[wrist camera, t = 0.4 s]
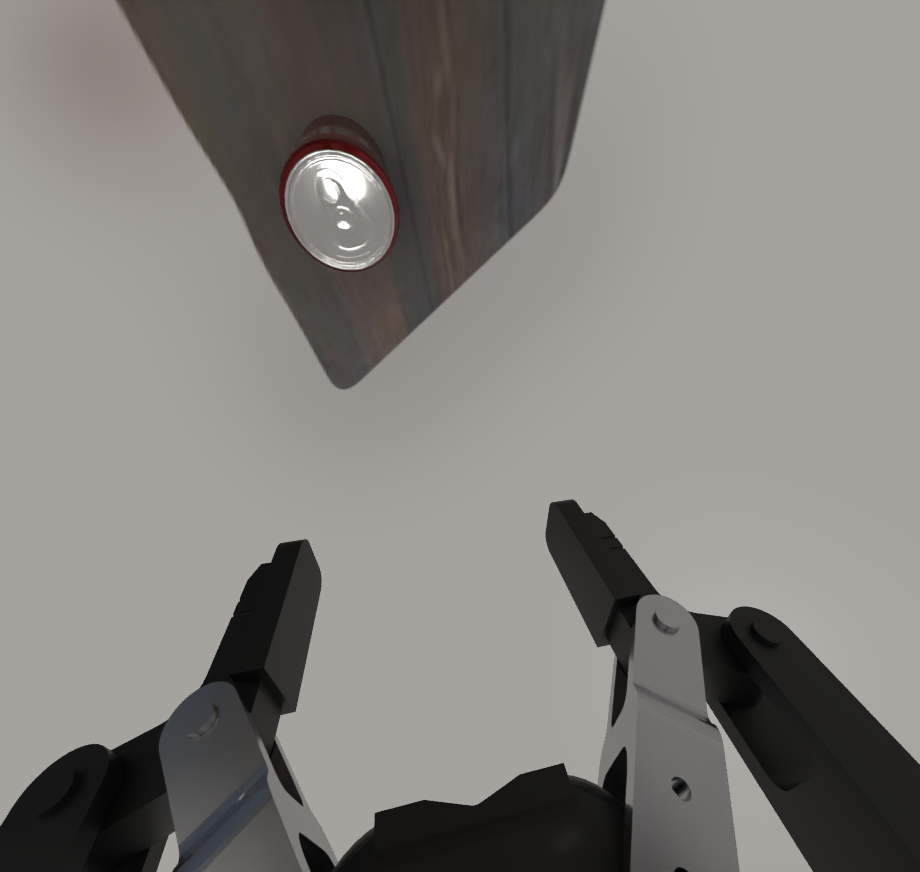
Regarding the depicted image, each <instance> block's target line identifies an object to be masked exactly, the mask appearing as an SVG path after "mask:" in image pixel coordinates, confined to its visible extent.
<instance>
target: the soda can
mask: <svg viewBox="0 0 920 872" xmlns="http://www.w3.org/2000/svg"><path fill="white" fill-rule="evenodd" d="M279 198H280V206H281V210H282V214H283V217H284V220H285V222H286V224H287V227H288V229H289V231H290V232H291V234H292V235H293V237H294V239H295V240H296V242H297V243H298V244H299V245H300V246H301V247H302V248H303V250H304V251H305V252H307V253H308V254H309V255H310V256H311V257H312V258H314V259H315V260H317V261H318V262H320V263H321V264H323V265H325V266H327V267H330V268H332V269H335V270H339V271H344V272H358V271H364V270H367V269H369V268H372V267H374V266H375V265H377V264H378V263H380V262H381V261H382V260H383V259H384V258H385V257H386V256H387V255H388V254H389V252H390V251H391V249H392V247H393V246H394V243H395V241H396V238H397V235H398V229H399V209H398V204H397V198H396V195H395V192H394V189H393V186H392V183H391V180H390V177H389V174H388V171H387V168H386V165H385V162H384V159H383V156H382V154H381V152H380V150H379V148H378V146H377V144H376V142H375V141H374V140H373V138H372V137H371V136H370V135H369V133H368V132H366V131H365V130H364V129H363V128H362V127H361V126H360V125H358V124H357V123H355V122H354V121H352V120H350V119H347V118H345V117H342V116H334V115H330V116H323V117H320V118H318V119H316V120H314V121H313V122H312V123H310V124H309V125H308V126H307V127H306V129H305V130H304V132H303V133H302V135H301V137H300V138H299V140H298V142H297V144H296V145H295V147H294V149H293V151H292V153H291V154H290V156H289V158H288V160H287V161H286V163H285V166H284V168H283V171H282V174H281V177H280V185H279Z"/></svg>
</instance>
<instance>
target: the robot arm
mask: <svg viewBox="0 0 920 872" xmlns="http://www.w3.org/2000/svg"><path fill="white" fill-rule="evenodd" d="M546 542H547V546H548V549H549V552H550V553H551V555H552V557H553V560H554V561H555V563H556V565H557V568H558V569H559V572H560V573H561V575H562V577H563V579H564V581H565V583H566V585H567V587H568V589H569V591H570V593H571V595H572V597H573V599H574V601H575V603H576V605H577V607H578V609H579V611H580V613H581V615H582V617H583V619H584V621H585V623H586V625H587V627H588V629H589V631H590V633H591V635H592V637H593V639H594V641H595V643H596V645H597V647H601V646H606V645H611V647H612V649H613V651H614V653H615V659H614V666H613V676H612V686H611V696H610V705H609V715H608V725H607V732H606V737H605V741H604V745H603V750H602V755H601V761H600V768H599V777H598V785H596V784H594V783H591V782H589V781H587V780H585V779H582V778H579V777H575V776H570V775H567V772H566V769H565V766H564V763H562V764H558V765H554V766H551V767H547V768H543V769H539V770H535V771H531V772H528V773H524V774H520V775H519V776H517V777H516V778H514V779H513V780H512V781H510V782H509V783H508V784H506V785H505V786H504V787H502V788H501V789H499V790H498V791H496V792H495V793H494V794H492V795H491V796H490V797H488V798H487V799H485V800H484V801H482V802H481V803H479V804H478V805H474V806H469V805H461V804H453V803H445V802H436V801H428V800H422V801H418V802H415V803H411V804H407V805H403V806H399V807H396V808H392V809H388V810H384V811H381V812H377V813H375V825H374V828H372V829H371V830H369V831H368V832H367V833H365V834H364V835H363V836H362V837H361V838H360V839H359V840H358V841H357V842H355V843H354V844H353V846H352V847H351V848H350V849H349V850H348V851H347V852H346V853H345V855H344V856H343V857H342V858H341V860H340V861H339V862H338V861H337V859H336V857H335V855H334V853H333V851H332V848H331V846H330V844H329V842H328V840H327V838H326V836H325V834H324V832H323V830H322V828H321V826H320V825H319V823H318V821H317V820H316V818H315V817H314V815H313V813H312V812H311V810H310V808H309V806H308V804H307V802H306V800H305V798H304V796H303V793H302V791H301V789H300V787H299V784H298V782H297V780H296V778H295V776H294V773H293V771H292V769H291V767H290V765H289V762H288V760H287V758H286V756H285V753H284V751H283V749H282V747H281V745H280V742H279V740H278V738H277V736H276V731H277V726H278V723H279V718H280V715H283V714H287V713H292V712H295V711H296V707H297V702H298V697H299V692H300V687H301V682H302V678H303V673H304V668H305V663H306V659H307V654H308V649H309V644H310V639H311V635H312V630H313V625H314V620H315V615H316V611H317V606H318V600H319V596H320V591H321V572H320V568H319V566H318V563H317V561H316V559H315V556H314V553H313V551H312V549H311V546H310V544H309V542H308V540H306V539H305V540H298V541H292V542H285V543H280V544H279V545H278V546H277V548H276V551H275V554H274V556H273V559H272V562H271V563H265V564H261V565H260V566H259V567H258V569H257V570H256V571H255V572H254V573H253V575H252V576H251V577H250V578H249V579H248V581H247V583H246V585H245V588H244V590H243V592H242V594H241V597H240V602H238V604H237V606H236V609H235V611H234V613H233V615H234V616H233V617H232V618H231V620H230V622H229V625H228V627H227V630H226V632H225V634H224V636H223V639H222V641H221V644H220V646H219V648H218V650H217V653H216V655H215V657H214V660H213V662H212V664H211V667H210V669H209V671H208V674H207V676H206V678H205V680H204V682H203V684H202V685H201V687H200V688H199V689H198V690H196V691H195V692H193V693H192V694H191V695H189V696H188V697H187V698H186V699H185V700H184V701H183V702H182V703H181V704H180V705H179V706H178V707H177V708H176V709H175V711H174V712H173V713H172V715H171V716H170V718H169V719H168V720H167V721H165V722H164V723H162V724H160V725H159V726H157V727H155V728H153V729H151V730H149V731H147V732H145V733H143V734H141V735H140V736H138V737H136V738H134V739H132V740H130V741H128V742H126V743H124V744H122V745H120V746H118V747H117V748H115V749H113V750H109V749H107V748H106V747H104V746H102V745H99V744H90V745H85V746H82V747H80V748H77V749H75V750H73V751H71V752H69V753H68V754H66V755H64V756H63V757H61V758H60V759H58V760H57V761H56V762H54V763H53V764H51V765H50V766H49V767H48V768H47V769H46V770H44V771H43V772H42V773H41V774H40V775H39V776H38V777H37V778H36V779H35V780H34V781H33V782H32V783H31V784H30V785H29V786H28V787H27V788H26V790H25V791H24V792H23V793H22V795H21V796H20V797H19V799H18V800H17V802H16V803H15V804H14V806H13V807H12V809H11V811H10V812H9V814H8V815H7V817H6V819H5V820H4V822H3V823H2V825H1V826H0V872H156V871H157V868H158V865H159V862H160V859H161V856H162V853H163V850H164V847H165V844H166V841H167V838H168V836H169V834H171V833H173V832H174V831H175V832H176V837H177V842H178V848H179V862H178V864H177V866H176V867H175V868H174V870H173V872H739V864H738V856H737V848H736V840H735V832H734V825H733V817H732V809H731V801H730V793H729V785H728V777H727V769H726V762H725V754H724V747H723V742H722V738H721V734H720V732H719V730H718V728H717V726H716V725H714V724H712V723H711V722H710V720H709V718H708V714H707V707H706V702H707V703H708V704H709V706H710V708H711V710H712V711H713V712H714V714H715V716H716V717H717V719H718V721H719V722H720V724H721V725H722V727H723V729H724V730H725V732H726V733H727V735H728V737H729V738H730V740H731V741H732V743H733V744H734V746H735V748H736V749H737V751H738V753H739V754H740V756H741V757H742V759H743V761H744V762H745V764H746V765H747V767H748V769H749V770H750V772H751V773H752V775H753V776H754V778H755V780H756V781H757V783H758V784H759V786H760V788H761V789H762V791H763V792H764V794H765V796H766V797H767V799H768V800H769V802H770V804H771V805H772V807H773V808H774V810H775V812H776V813H777V815H778V816H779V818H780V820H781V821H782V823H783V824H784V826H785V828H786V829H787V831H788V832H789V834H790V835H791V837H792V838H793V840H794V842H795V843H796V845H797V847H798V848H799V850H800V851H801V853H802V855H803V856H804V858H805V859H806V861H807V862H808V864H809V866H810V867H811V869H812V870H813V872H920V764H919V763H917V761H916V760H915V759H914V758H913V757H912V756H911V755H910V754H909V753H908V752H907V751H906V750H905V749H904V748H903V747H902V746H901V745H900V744H899V743H898V741H897V740H896V739H895V738H894V737H893V736H892V735H891V734H890V733H889V732H888V731H887V730H886V729H885V728H884V727H883V726H882V725H881V724H880V723H879V722H878V721H877V720H876V718H875V717H873V716H872V715H871V713H869V711H868V710H867V709H866V708H865V707H864V706H863V705H862V704H861V703H860V702H859V701H858V700H857V699H856V698H855V697H854V696H853V695H852V694H851V692H850V691H849V690H848V689H847V688H846V687H845V686H844V685H843V684H842V683H841V682H840V681H839V680H838V679H837V678H836V677H835V676H834V675H833V674H832V673H831V672H830V670H828V668H827V667H825V665H824V664H823V663H822V662H821V661H820V660H819V659H818V658H817V657H816V656H815V655H814V654H813V653H812V652H811V651H810V650H809V649H808V648H807V646H806V645H805V644H804V643H803V642H802V641H801V640H800V639H799V638H798V637H797V636H796V635H795V634H794V633H793V632H792V631H791V630H790V629H789V628H788V627H787V626H786V625H785V624H783V623H782V622H781V621H780V620H778V619H777V618H775V617H774V616H772V615H770V614H768V613H766V612H764V611H762V610H759V609H756V608H752V607H738V608H736V609H734V610H733V611H732V612H731V614H730V615H729V617H720V616H713V615H705V614H699V613H693V612H689V611H687V610H686V609H685V608H684V607H683V606H681V605H680V604H679V603H677V602H676V601H674V600H672V599H670V598H668V597H665V596H661V595H660V594H659V593H658V592H657V591H656V590H655V588H654V587H653V586H652V584H651V583H650V582H649V580H648V579H647V578H646V576H645V575H644V574H643V572H642V571H641V570H640V568H639V567H638V566H637V564H636V563H635V562H634V560H633V559H632V558H631V557H630V555H629V554H628V552H627V551H626V550H625V549H623V546H622V544H621V543H620V542H619V540H618V539H617V538H615V535H614V534H613V532H612V531H611V530H610V528H609V527H608V526H607V524H606V523H605V522H604V521H602V520H601V519H599V518H598V517H597V516H595V515H594V514H593V513H591V512H590V513H584V512H583V511H582V509H581V508H580V507H579V505H578V504H577V502H576V501H574V500H565V501H558V502H552V503H551V504H550V507H549V513H548V520H547V527H546Z"/></svg>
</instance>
